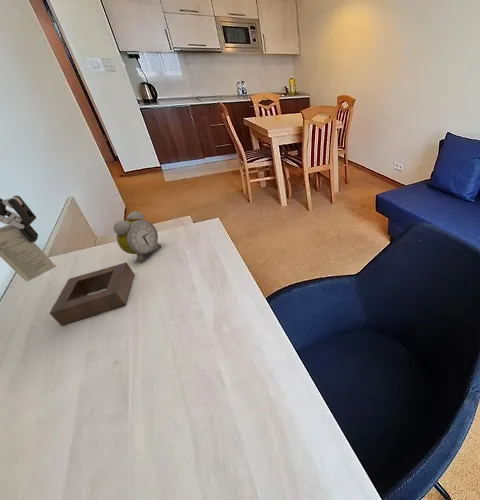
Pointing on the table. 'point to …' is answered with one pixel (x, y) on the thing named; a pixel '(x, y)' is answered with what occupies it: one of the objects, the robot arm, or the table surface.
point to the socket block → (82, 306)
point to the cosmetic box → (22, 254)
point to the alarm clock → (136, 235)
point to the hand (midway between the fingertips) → (14, 245)
